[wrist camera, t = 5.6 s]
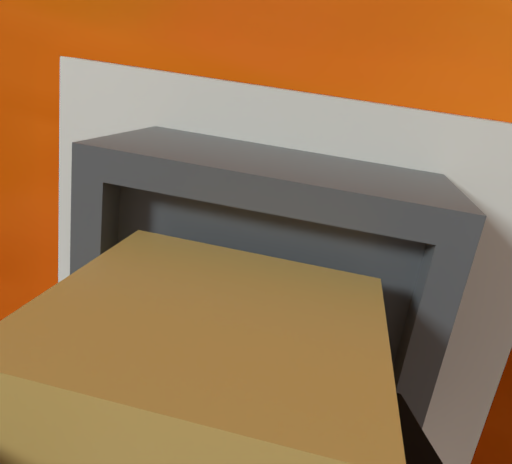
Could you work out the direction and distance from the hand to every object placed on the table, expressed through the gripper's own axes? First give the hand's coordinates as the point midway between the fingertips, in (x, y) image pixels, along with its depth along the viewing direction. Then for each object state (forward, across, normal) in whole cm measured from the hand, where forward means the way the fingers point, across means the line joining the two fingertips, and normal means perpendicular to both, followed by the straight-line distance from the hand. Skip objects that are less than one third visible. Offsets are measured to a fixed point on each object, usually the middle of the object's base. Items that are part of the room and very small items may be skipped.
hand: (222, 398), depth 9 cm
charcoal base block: (+6, 0, 0) cm, 6 cm away
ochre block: (+2, 0, 0) cm, 2 cm away
